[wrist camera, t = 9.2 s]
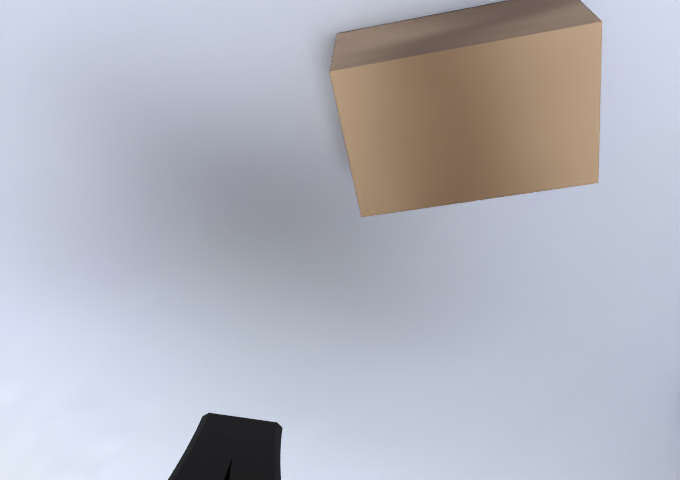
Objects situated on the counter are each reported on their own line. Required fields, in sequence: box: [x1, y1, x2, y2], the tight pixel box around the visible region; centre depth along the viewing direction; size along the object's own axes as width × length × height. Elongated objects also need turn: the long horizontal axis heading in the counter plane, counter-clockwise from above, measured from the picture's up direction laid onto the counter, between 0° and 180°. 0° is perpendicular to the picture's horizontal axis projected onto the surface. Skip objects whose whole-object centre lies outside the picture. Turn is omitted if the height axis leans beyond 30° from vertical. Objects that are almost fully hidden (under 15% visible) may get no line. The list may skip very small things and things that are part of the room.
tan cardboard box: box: [329, 0, 602, 217], centre depth 16 cm, size 6×4×3 cm, turn 102°
